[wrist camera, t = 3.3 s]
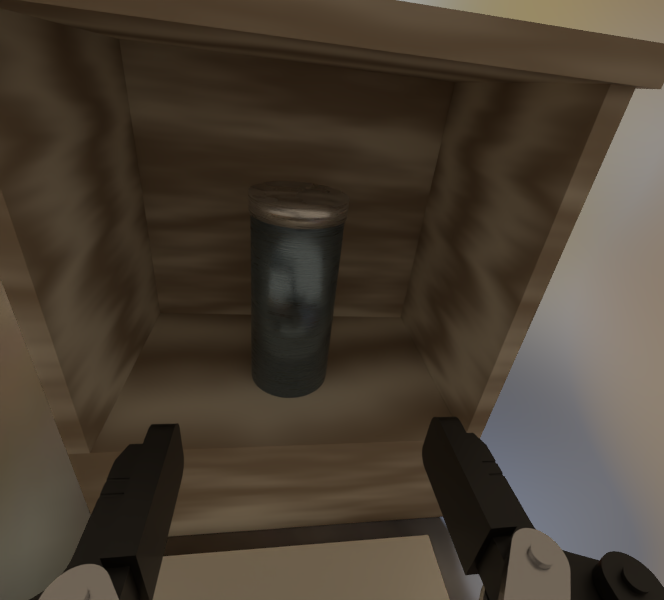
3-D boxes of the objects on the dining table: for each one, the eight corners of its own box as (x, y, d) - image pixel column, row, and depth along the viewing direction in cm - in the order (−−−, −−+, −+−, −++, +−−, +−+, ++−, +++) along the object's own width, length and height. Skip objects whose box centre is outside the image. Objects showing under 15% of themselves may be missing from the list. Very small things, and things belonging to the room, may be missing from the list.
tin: (285, 412, 22) (296, 215, 16) (234, 368, 25) (227, 186, 19) (342, 373, 25) (369, 199, 19) (292, 338, 28) (301, 177, 22)
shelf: (454, 523, 25) (680, 46, 12) (88, 551, 22) (-186, -94, 8) (395, 374, 38) (471, 63, 25) (158, 376, 34) (96, 12, 21)
